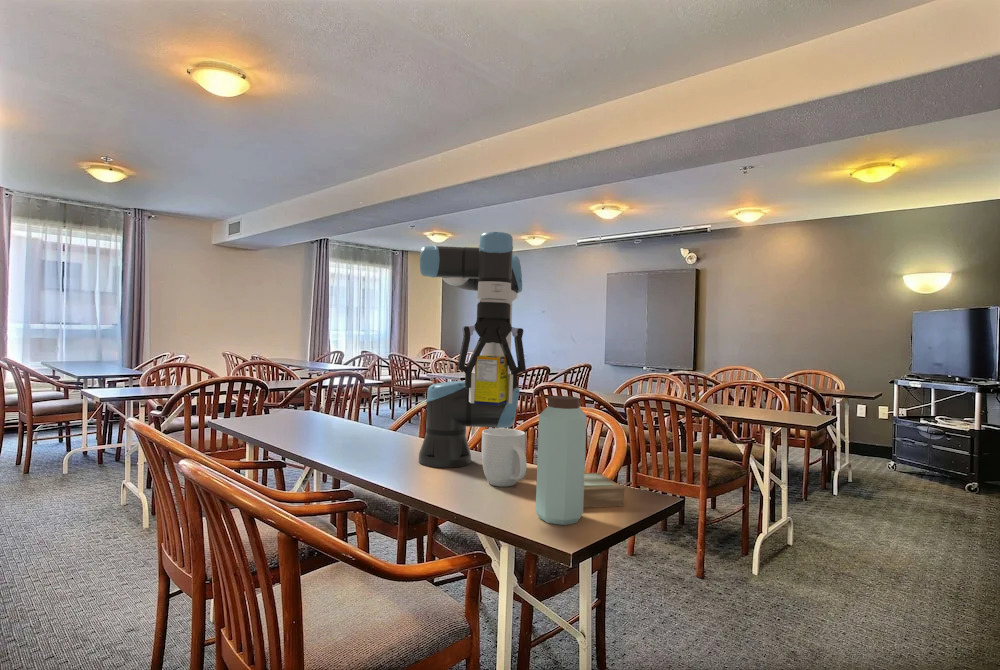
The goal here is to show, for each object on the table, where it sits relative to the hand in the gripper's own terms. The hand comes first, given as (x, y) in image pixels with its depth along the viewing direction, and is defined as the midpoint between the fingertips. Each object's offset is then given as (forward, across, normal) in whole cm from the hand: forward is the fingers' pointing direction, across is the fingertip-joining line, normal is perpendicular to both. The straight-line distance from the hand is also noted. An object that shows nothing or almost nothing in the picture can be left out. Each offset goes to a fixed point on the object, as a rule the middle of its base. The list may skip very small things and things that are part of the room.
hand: (490, 402), depth 125 cm
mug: (+23, +7, +12) cm, 27 cm away
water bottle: (+22, +13, -14) cm, 29 cm away
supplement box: (+1, 0, 0) cm, 1 cm away
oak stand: (+22, +23, -1) cm, 32 cm away
